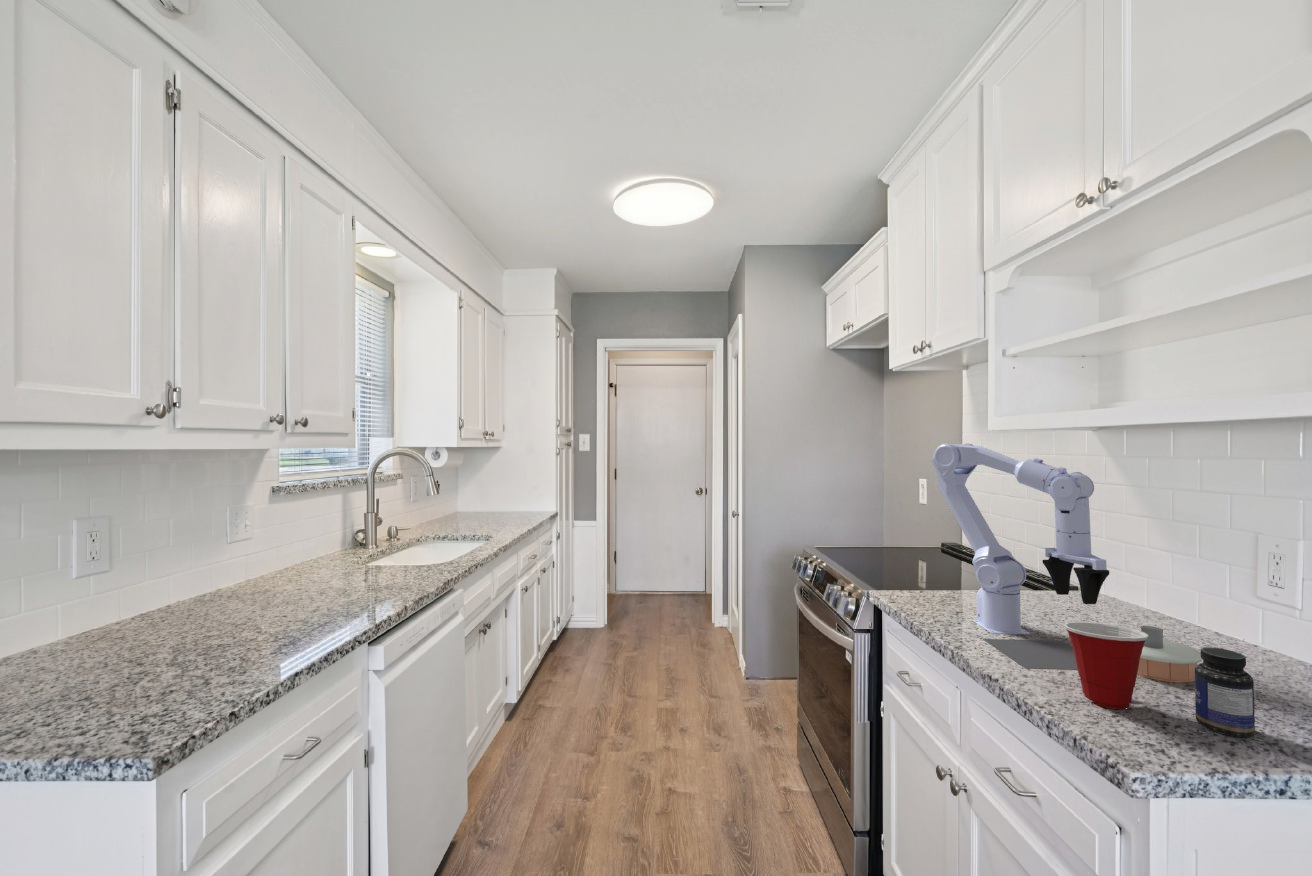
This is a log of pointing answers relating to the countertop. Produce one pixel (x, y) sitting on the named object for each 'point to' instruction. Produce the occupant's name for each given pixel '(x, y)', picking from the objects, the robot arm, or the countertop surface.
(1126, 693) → the plastic cup
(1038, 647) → the mat
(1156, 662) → the bowl
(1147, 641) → the lid
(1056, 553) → the robot arm
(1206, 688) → the pill bottle
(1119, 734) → the countertop surface
